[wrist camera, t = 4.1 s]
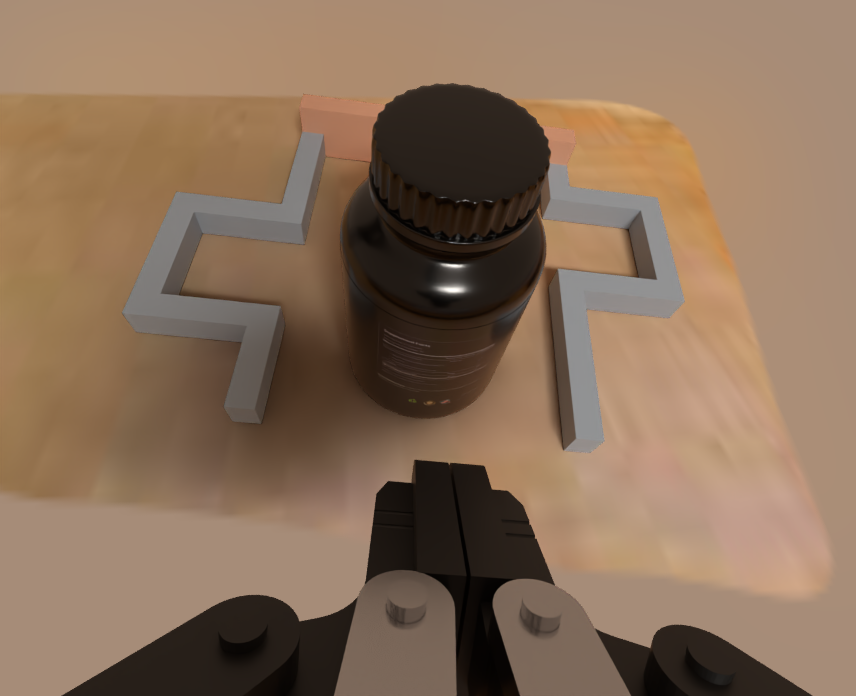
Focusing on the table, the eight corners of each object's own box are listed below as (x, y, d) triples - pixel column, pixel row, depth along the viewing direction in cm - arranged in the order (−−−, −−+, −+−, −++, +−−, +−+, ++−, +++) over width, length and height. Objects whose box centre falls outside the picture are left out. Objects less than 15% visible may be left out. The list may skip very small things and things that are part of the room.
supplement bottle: (349, 295, 25) (338, 48, 14) (484, 299, 25) (565, 67, 15) (344, 426, 21) (325, 223, 11) (500, 425, 22) (620, 236, 12)
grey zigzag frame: (103, 409, 20) (65, 376, 18) (221, 129, 30) (207, 81, 27) (703, 462, 22) (748, 439, 19) (636, 182, 31) (660, 141, 29)
